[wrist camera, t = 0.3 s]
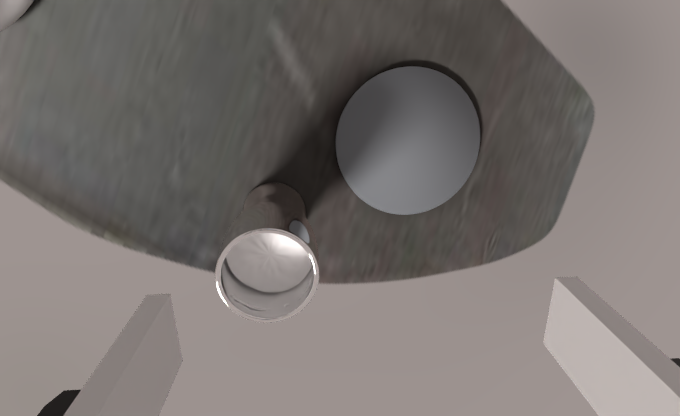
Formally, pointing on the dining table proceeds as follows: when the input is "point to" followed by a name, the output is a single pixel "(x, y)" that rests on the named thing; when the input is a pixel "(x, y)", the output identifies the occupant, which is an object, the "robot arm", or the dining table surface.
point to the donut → (12, 11)
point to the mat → (407, 140)
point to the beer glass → (269, 257)
